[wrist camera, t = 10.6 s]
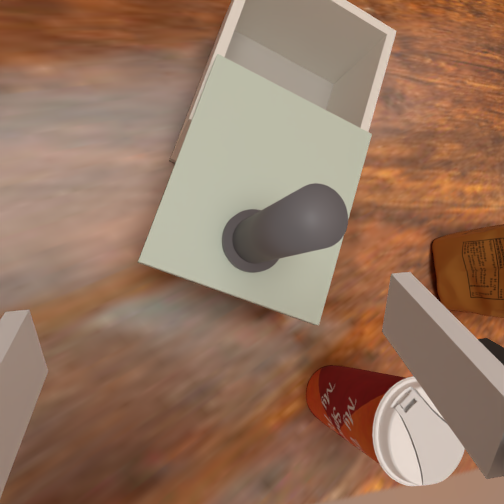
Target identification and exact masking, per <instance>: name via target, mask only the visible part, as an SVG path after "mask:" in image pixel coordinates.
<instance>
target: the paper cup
mask: <svg viewBox="0 0 504 504" xmlns="http://www.w3.org/2000/svg"><path fill="white" fill-rule="evenodd" d="M306 400H307V404H308V407H309V409H310V410H311V412H312V413H313V414H314V416H315V417H317V418H318V419H319V420H320V421H321V422H323V423H324V424H325V425H327V426H328V427H329V428H331V429H332V430H333V431H335V432H336V433H337V434H339V435H340V436H342V437H343V438H344V439H346V440H347V441H348V442H350V443H351V444H353V445H354V446H355V447H357V448H358V449H359V450H361V451H362V452H364V453H365V454H366V455H368V456H369V457H371V458H372V459H373V460H375V461H376V462H377V463H379V464H380V465H381V467H382V468H383V470H384V471H385V472H386V473H387V474H388V475H389V476H390V477H391V478H392V479H394V480H395V481H397V482H399V483H401V484H404V485H407V486H422V485H431V484H436V483H439V482H441V481H443V480H445V479H446V478H447V477H449V475H450V474H451V473H452V472H453V471H454V470H455V468H456V467H457V466H458V464H459V462H460V460H461V458H462V456H463V453H464V447H463V445H462V444H461V442H460V441H459V439H458V438H457V437H456V435H455V434H454V432H453V431H452V430H451V428H450V427H449V425H448V424H447V422H446V421H445V420H444V418H443V417H442V415H441V414H440V413H439V411H438V410H437V408H436V407H435V406H434V404H433V403H432V401H431V400H430V398H429V397H428V396H427V394H426V393H425V391H424V390H423V389H422V387H421V386H420V384H419V383H418V381H417V380H416V379H415V377H414V376H413V377H408V378H404V377H399V376H393V375H388V374H382V373H377V372H371V371H366V370H360V369H354V368H349V367H342V366H333V365H331V366H325V367H322V368H320V369H319V370H317V371H316V372H315V373H314V374H313V376H312V377H311V378H310V380H309V383H308V385H307V390H306Z"/></svg>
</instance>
